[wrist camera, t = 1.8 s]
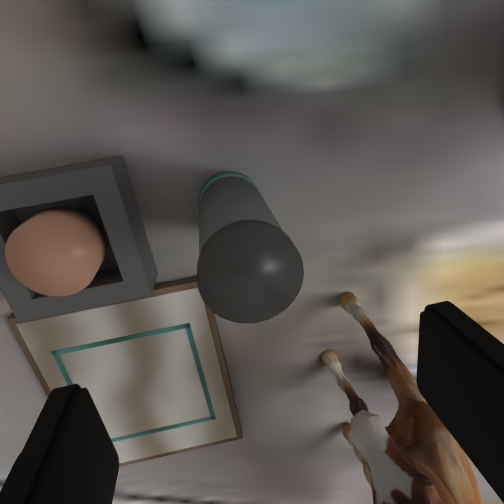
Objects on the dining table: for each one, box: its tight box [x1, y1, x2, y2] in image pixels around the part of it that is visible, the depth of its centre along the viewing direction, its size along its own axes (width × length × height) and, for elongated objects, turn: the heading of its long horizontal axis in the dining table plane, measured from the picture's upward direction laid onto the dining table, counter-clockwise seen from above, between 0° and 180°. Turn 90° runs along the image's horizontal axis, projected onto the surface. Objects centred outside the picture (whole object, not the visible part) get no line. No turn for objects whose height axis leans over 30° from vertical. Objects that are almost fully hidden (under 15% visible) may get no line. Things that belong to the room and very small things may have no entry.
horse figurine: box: [322, 292, 484, 504], centre depth 26 cm, size 31×8×21 cm, turn 17°
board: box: [7, 277, 243, 466], centre depth 31 cm, size 15×18×1 cm
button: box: [5, 206, 107, 296], centre depth 22 cm, size 5×5×2 cm
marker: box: [197, 172, 304, 323], centre depth 21 cm, size 5×5×12 cm
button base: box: [0, 156, 157, 323], centre depth 24 cm, size 9×9×4 cm
